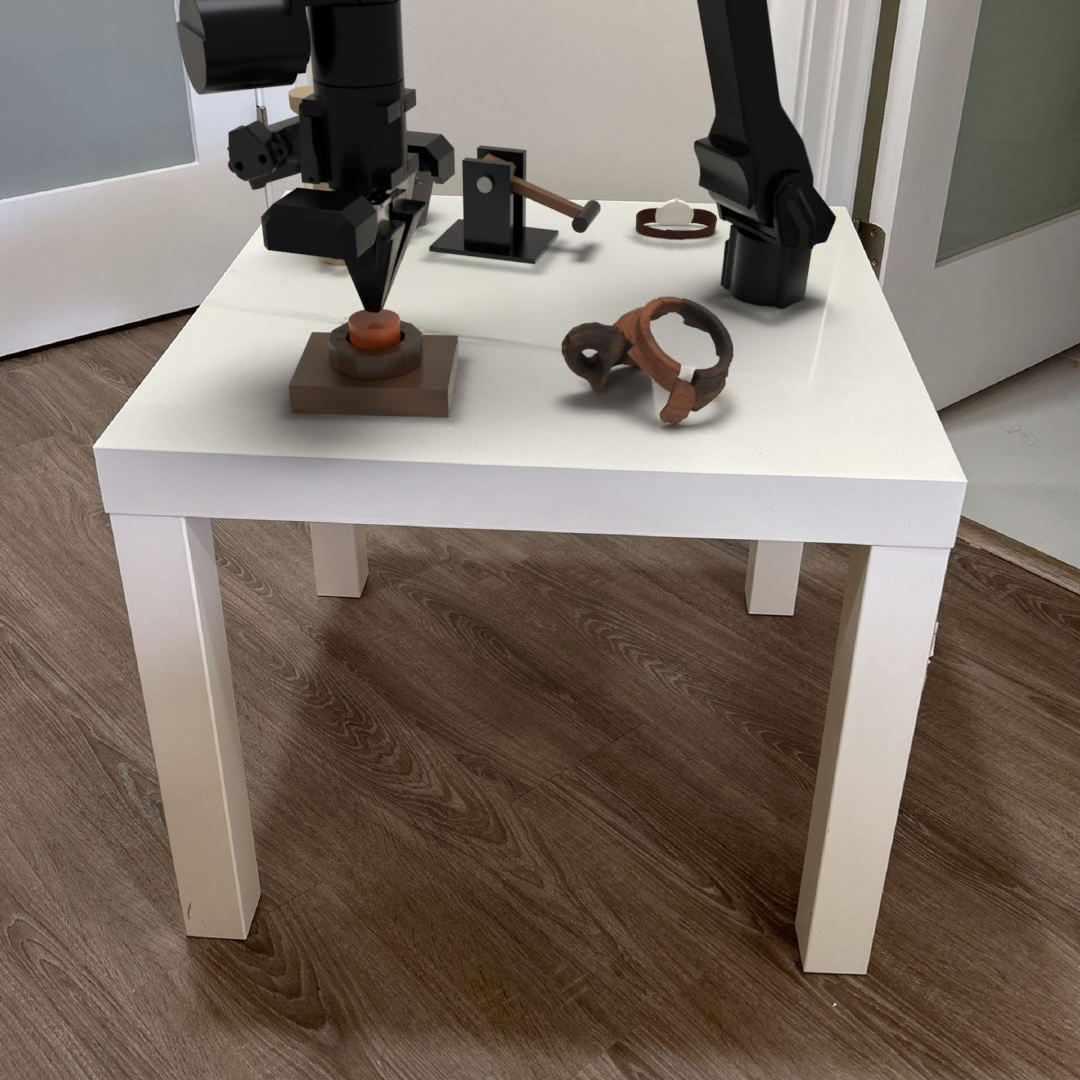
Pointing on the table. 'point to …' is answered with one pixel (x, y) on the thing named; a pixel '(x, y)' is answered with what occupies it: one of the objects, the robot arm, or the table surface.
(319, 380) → the button block
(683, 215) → the watch
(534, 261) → the bracket
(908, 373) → the table surface
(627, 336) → the brown curved ring piece
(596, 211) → the lever
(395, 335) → the button
